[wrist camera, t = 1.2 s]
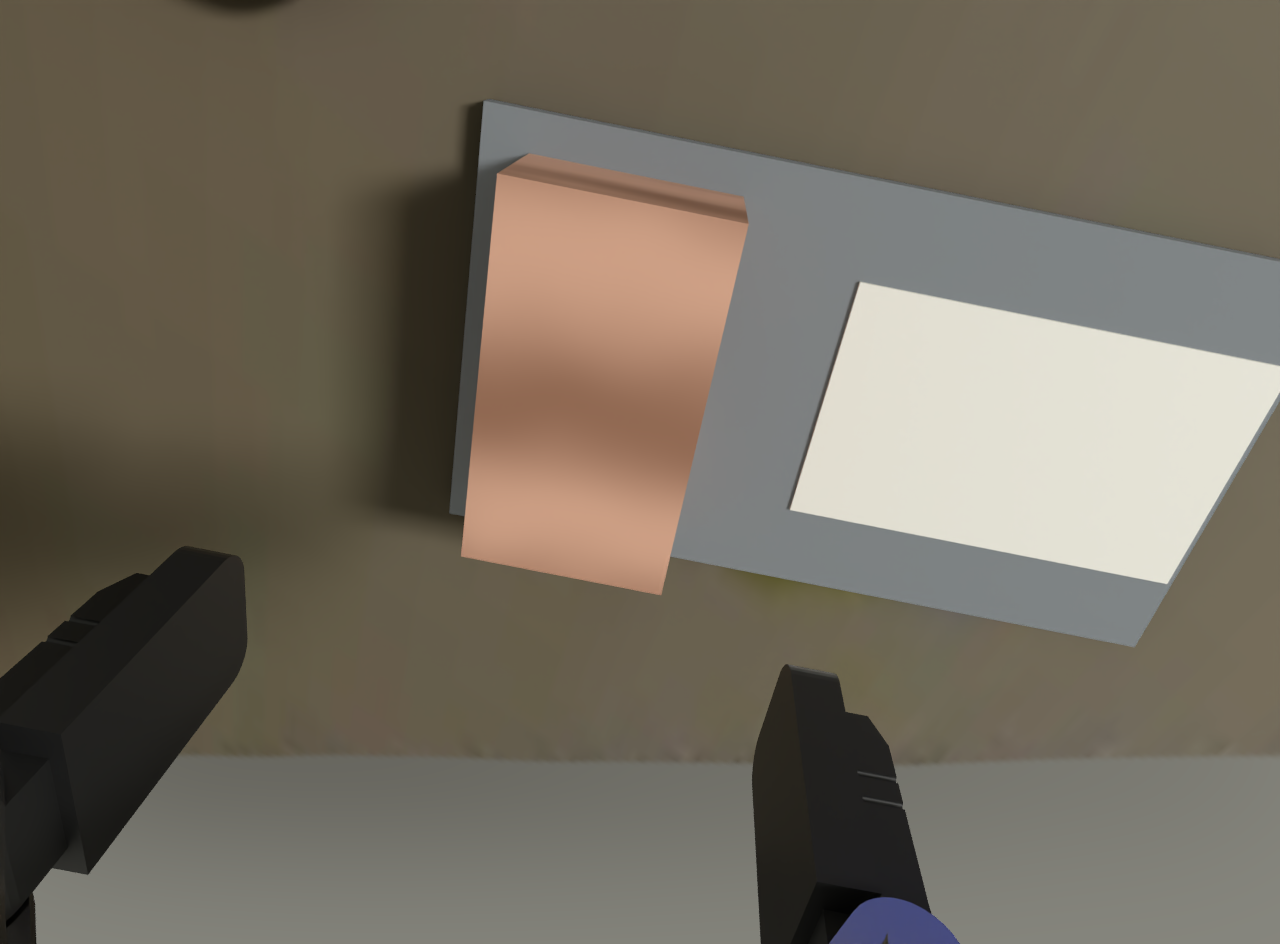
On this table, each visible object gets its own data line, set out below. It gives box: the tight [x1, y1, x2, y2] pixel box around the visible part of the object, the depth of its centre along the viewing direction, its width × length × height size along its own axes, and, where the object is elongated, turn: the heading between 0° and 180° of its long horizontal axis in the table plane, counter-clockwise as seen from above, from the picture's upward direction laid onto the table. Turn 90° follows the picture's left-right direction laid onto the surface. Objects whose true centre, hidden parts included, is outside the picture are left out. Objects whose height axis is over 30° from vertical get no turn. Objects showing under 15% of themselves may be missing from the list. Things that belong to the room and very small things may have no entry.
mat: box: [449, 99, 1280, 647], centre depth 24 cm, size 12×22×1 cm, turn 80°
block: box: [461, 153, 749, 595], centre depth 22 cm, size 10×6×4 cm, turn 170°
